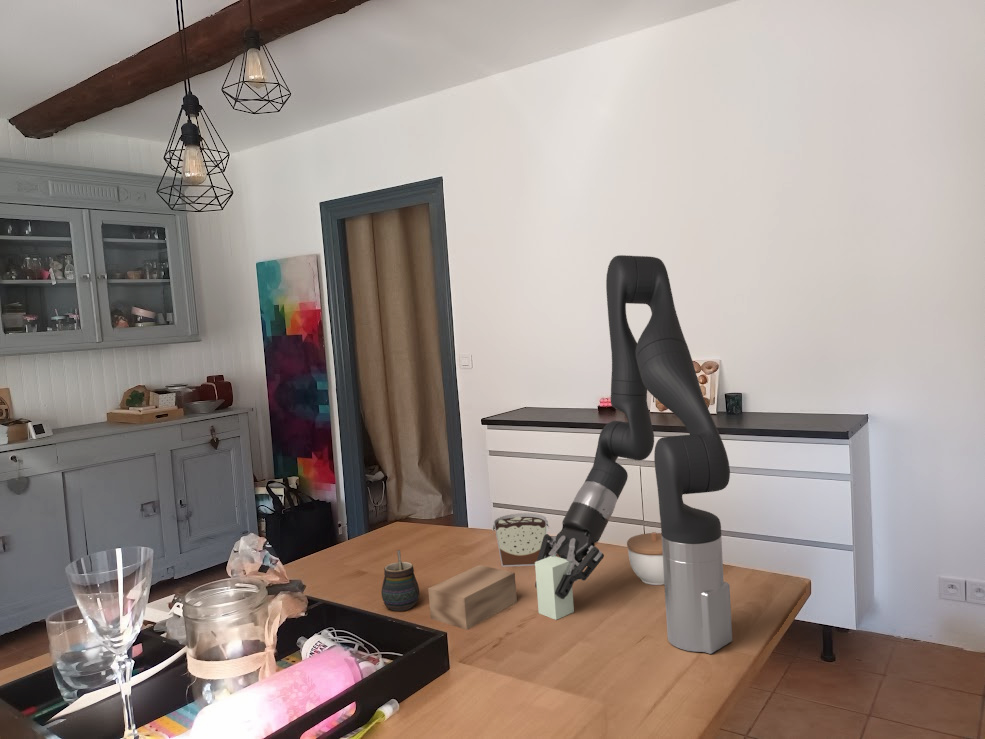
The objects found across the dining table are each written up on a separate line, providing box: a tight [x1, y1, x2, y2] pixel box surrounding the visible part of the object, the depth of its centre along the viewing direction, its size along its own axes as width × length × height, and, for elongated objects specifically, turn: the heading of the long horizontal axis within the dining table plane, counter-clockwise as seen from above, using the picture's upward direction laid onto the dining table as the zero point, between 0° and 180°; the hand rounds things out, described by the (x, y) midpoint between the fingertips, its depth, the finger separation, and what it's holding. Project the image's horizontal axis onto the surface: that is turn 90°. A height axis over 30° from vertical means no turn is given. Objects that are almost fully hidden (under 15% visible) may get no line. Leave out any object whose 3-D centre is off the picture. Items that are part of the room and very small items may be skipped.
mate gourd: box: [380, 549, 421, 612], centre depth 142 cm, size 7×8×10 cm
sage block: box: [534, 555, 575, 621], centre depth 133 cm, size 4×4×10 cm
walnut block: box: [427, 564, 518, 631], centre depth 137 cm, size 9×14×6 cm, turn 139°
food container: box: [491, 512, 550, 567], centre depth 162 cm, size 12×6×10 cm, turn 84°
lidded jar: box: [626, 531, 664, 586], centre depth 146 cm, size 11×11×9 cm
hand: (549, 592), depth 132 cm, fingers closed on sage block, 4 cm apart
